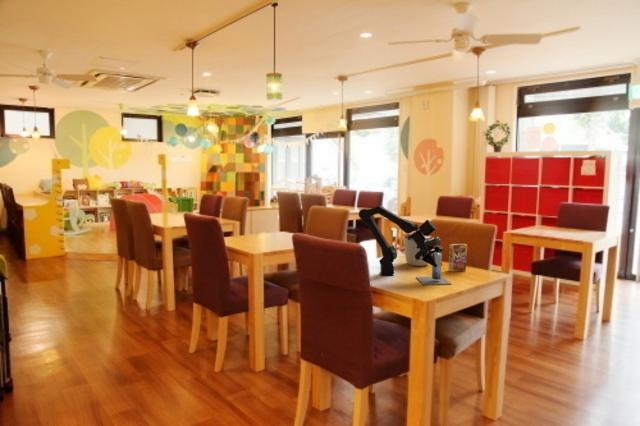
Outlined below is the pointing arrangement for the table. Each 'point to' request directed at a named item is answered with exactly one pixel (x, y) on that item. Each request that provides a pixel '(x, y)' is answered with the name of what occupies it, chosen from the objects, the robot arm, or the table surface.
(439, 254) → the tin canister
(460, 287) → the table surface
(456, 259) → the candy box
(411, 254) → the canister
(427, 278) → the gray mat
